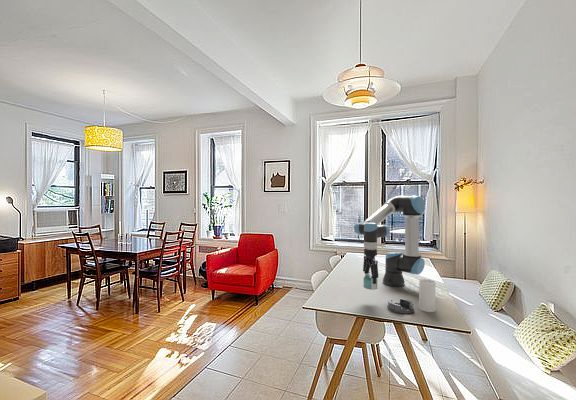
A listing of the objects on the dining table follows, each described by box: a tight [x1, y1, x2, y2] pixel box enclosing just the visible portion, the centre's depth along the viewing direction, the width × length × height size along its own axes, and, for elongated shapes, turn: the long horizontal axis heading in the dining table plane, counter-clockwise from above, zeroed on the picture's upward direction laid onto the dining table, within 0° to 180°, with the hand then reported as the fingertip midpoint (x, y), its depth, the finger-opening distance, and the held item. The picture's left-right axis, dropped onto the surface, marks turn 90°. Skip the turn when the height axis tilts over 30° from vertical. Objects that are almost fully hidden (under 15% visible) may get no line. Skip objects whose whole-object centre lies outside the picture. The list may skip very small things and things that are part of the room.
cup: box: [418, 278, 437, 313], centre depth 162 cm, size 8×8×16 cm
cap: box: [362, 275, 378, 291], centre depth 172 cm, size 8×8×6 cm
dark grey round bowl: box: [387, 297, 415, 315], centre depth 162 cm, size 14×14×4 cm
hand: (370, 286), depth 172 cm, fingers closed on cap, 8 cm apart
